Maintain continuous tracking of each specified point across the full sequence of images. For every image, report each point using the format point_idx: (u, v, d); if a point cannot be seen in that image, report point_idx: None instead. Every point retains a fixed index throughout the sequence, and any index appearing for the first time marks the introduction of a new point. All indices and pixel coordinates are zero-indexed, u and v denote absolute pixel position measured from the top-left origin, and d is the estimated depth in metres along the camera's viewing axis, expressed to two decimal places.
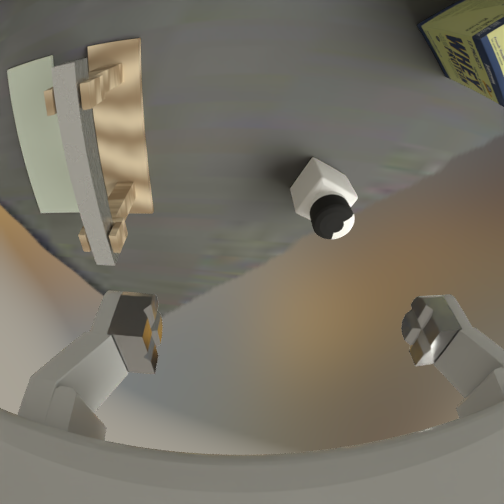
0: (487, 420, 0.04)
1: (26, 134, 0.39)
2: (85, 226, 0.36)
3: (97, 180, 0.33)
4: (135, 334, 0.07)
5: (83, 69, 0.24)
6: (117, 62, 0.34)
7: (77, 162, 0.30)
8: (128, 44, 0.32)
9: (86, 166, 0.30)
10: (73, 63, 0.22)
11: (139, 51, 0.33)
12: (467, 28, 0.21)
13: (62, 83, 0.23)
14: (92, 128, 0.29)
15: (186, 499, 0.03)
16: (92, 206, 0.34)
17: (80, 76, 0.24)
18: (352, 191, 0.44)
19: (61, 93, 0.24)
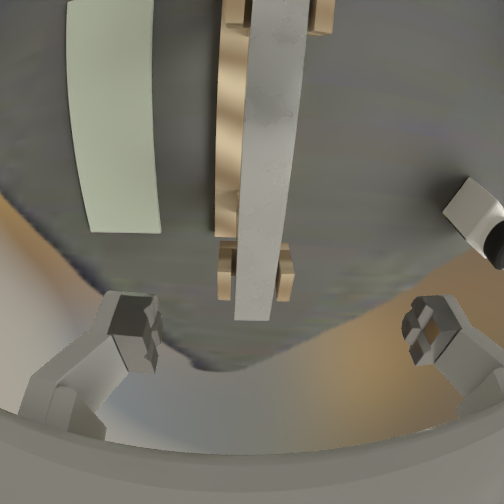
0: (487, 420, 0.04)
1: (85, 103, 0.27)
2: (240, 256, 0.22)
3: None
4: (135, 334, 0.07)
5: None
6: None
7: (271, 128, 0.17)
8: None
9: (289, 141, 0.17)
10: None
11: None
12: None
13: None
14: None
15: (186, 499, 0.03)
16: (270, 220, 0.20)
17: None
18: None
19: None
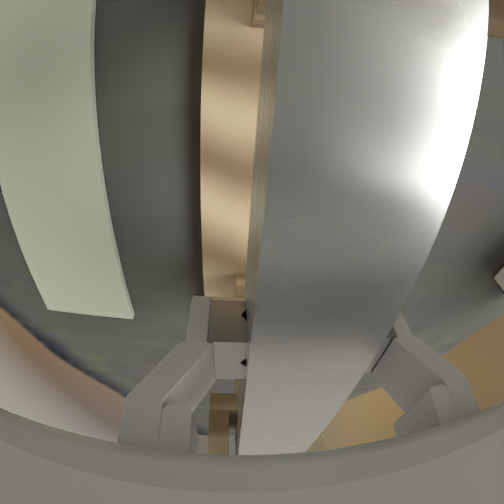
0: (487, 419, 0.04)
1: (10, 147, 0.16)
2: (243, 454, 0.11)
3: None
4: (239, 340, 0.07)
5: None
6: None
7: (332, 322, 0.06)
8: None
9: (371, 341, 0.06)
10: None
11: None
12: None
13: None
14: None
15: (186, 499, 0.03)
16: (299, 431, 0.09)
17: None
18: None
19: None
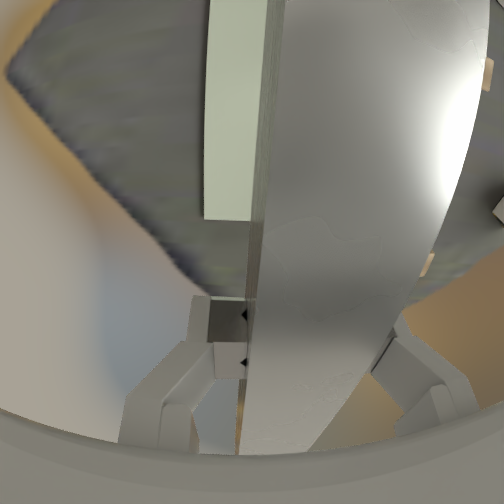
0: (487, 420, 0.04)
1: (225, 90, 0.30)
2: None
3: None
4: (239, 340, 0.07)
5: None
6: None
7: (332, 324, 0.06)
8: None
9: (371, 343, 0.06)
10: None
11: None
12: None
13: None
14: None
15: (186, 499, 0.03)
16: (299, 432, 0.10)
17: None
18: None
19: None
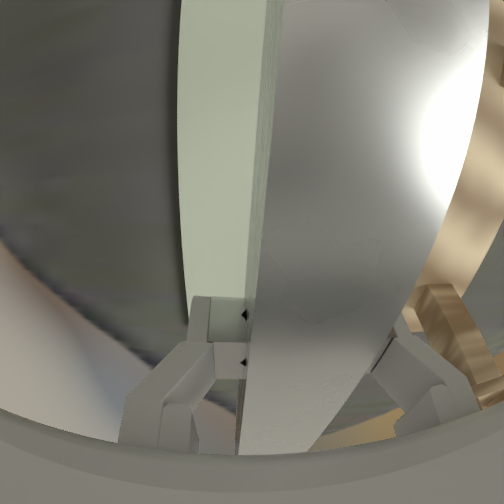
0: (487, 420, 0.04)
1: (218, 125, 0.15)
2: None
3: None
4: (239, 340, 0.07)
5: None
6: None
7: (331, 326, 0.06)
8: None
9: (369, 344, 0.06)
10: None
11: None
12: None
13: None
14: None
15: (186, 499, 0.03)
16: (299, 433, 0.10)
17: None
18: None
19: None
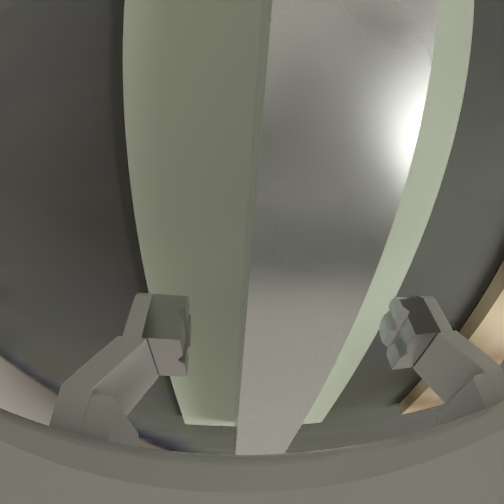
0: (487, 420, 0.04)
1: (202, 210, 0.09)
2: (242, 426, 0.12)
3: None
4: (172, 337, 0.07)
5: None
6: None
7: (317, 276, 0.07)
8: None
9: (353, 297, 0.07)
10: None
11: None
12: None
13: None
14: None
15: (186, 499, 0.03)
16: (295, 398, 0.11)
17: None
18: None
19: None
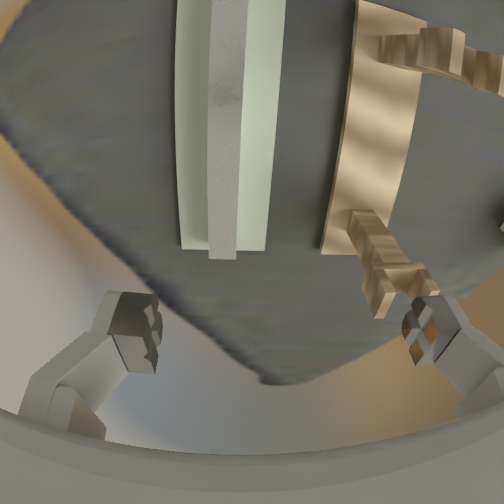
0: (487, 420, 0.04)
1: (196, 104, 0.27)
2: (210, 202, 0.30)
3: None
4: (135, 334, 0.07)
5: None
6: None
7: (225, 108, 0.25)
8: (415, 23, 0.21)
9: (238, 116, 0.25)
10: None
11: None
12: None
13: (227, 6, 0.19)
14: None
15: (186, 499, 0.03)
16: (229, 173, 0.28)
17: None
18: None
19: (223, 17, 0.20)
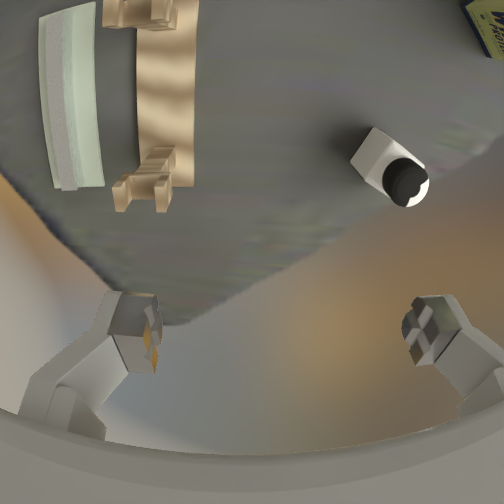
0: (487, 420, 0.04)
1: None
2: (55, 149, 0.37)
3: (69, 107, 0.35)
4: (135, 334, 0.07)
5: (69, 20, 0.27)
6: None
7: (55, 89, 0.31)
8: None
9: (61, 92, 0.32)
10: (62, 13, 0.25)
11: (198, 0, 0.29)
12: None
13: (53, 27, 0.26)
14: (70, 65, 0.32)
15: (186, 499, 0.03)
16: (62, 129, 0.35)
17: (66, 23, 0.26)
18: None
19: (50, 35, 0.26)
